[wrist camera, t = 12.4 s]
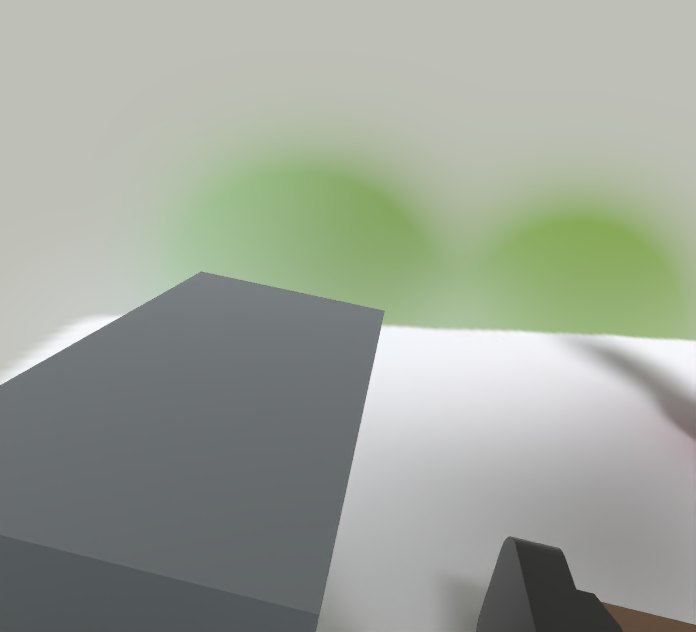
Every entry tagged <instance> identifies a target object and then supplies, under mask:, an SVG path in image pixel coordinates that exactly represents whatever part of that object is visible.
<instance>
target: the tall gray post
mask: <svg viewBox="0 0 696 632" xmlns="http://www.w3.org/2000/svg"><path fill="white" fill-rule="evenodd" d="M383 315H384V311H383V310H378V309H374V308H369V307H364V306H360V305H355V304H350V303H345V302H341V301H336V300H331V299H327V298H322V297H317V296H313V295H308V294H304V293H299V292H294V291H289V290H285V289H280V288H275V287H271V286H266V285H261V284H257V283H252V282H247V281H243V280H238V279H233V278H228V277H224V276H219V275H215V274H210V273H205V272H200V273H198V274H196V275H194V276H193V277H191V278H189V279H187V280H186V281H184V282H183V283H180V284H179V285H177V286H175V287H173V288H171V289H170V290H168V291H166V292H164V293H163V294H161V295H159V296H157V297H156V298H154V299H152V300H150V301H148V302H147V303H145V304H143V305H141V306H140V307H138V308H136V309H134V310H133V311H131V312H129V313H127V314H126V315H124V316H122V317H120V318H118V319H117V320H115V321H113V322H111V323H110V324H108V325H106V326H104V327H103V328H101V329H99V330H97V331H95V332H94V333H92V334H90V335H88V336H87V337H85V338H83V339H81V340H80V341H78V342H76V343H74V344H72V345H71V346H69V347H67V348H65V349H64V350H62V351H60V352H58V353H57V354H55V355H53V356H51V357H49V358H48V359H46V360H44V361H42V362H41V363H39V364H37V365H35V366H34V367H32V368H30V369H28V370H27V371H25V372H23V373H21V374H19V375H18V376H16V377H14V378H12V379H11V380H9V381H7V382H5V383H4V384H2V385H0V632H316V627H317V623H318V618H319V613H320V609H321V604H322V599H323V595H324V590H325V585H326V581H327V576H328V571H329V567H330V562H331V557H332V553H333V548H334V544H335V539H336V534H337V530H338V525H339V520H340V516H341V511H342V506H343V502H344V497H345V492H346V488H347V483H348V478H349V474H350V469H351V464H352V460H353V455H354V451H355V446H356V441H357V437H358V432H359V427H360V423H361V418H362V413H363V409H364V404H365V399H366V395H367V390H368V385H369V381H370V376H371V371H372V367H373V362H374V358H375V353H376V348H377V344H378V339H379V334H380V330H381V325H382V320H383Z"/></svg>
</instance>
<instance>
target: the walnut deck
mask: <svg viewBox="0 0 696 632" xmlns="http://www.w3.org/2000/svg"><path fill="white" fill-rule="evenodd" d="M601 603H602V604H603V605H604V607H605V608H606V609H607V610H608V611H609V613H610V614H611V615H612V616H613V618H614V619H615V620H616V621H617V623H618V624H619V625H620V626H621V628H622V630H623V632H696V625H694V624H689V623H685V622H681V621H677V620H673V619H669V618H665V617H661V616H656V615H652V614H648V613H644V612H640V611H636V610H632V609H628V608H623V607H619V606H615V605H611V604H607V603H603V602H601Z"/></svg>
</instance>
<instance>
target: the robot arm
mask: <svg viewBox="0 0 696 632" xmlns="http://www.w3.org/2000/svg"><path fill="white" fill-rule="evenodd" d="M476 632H623V630H622V628H621V626H620V625H619V624H618V623H617V621H616V620H615V619H614V618H613V616H612V615H611V614H610V613H609V611H608V610H607V609H606V608H605V607H604V605H603V604H602V603H601V602H600V600H599V599H598V598H597V597H596V595H595V594H593V593H589V592H584V591H580V590H576V587H575V585H574V582H573V579H572V576H571V573H570V570H569V567H568V565H567V562H566V559H565V556H564V554H563V552H562V551H561V549H559V548H556V547H552V546H548V545H543V544H539V543H535V542H531V541H526V540H522V539H518V538H514V537H508V538H507V539H506V540H505V541H504V543H503V545H502V548H501V551H500V554H499V557H498V560H497V563H496V566H495V569H494V572H493V575H492V578H491V581H490V584H489V588H488V591H487V594H486V597H485V600H484V603H483V606H482V609H481V612H480V615H479V619H478V624H477V631H476Z"/></svg>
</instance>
